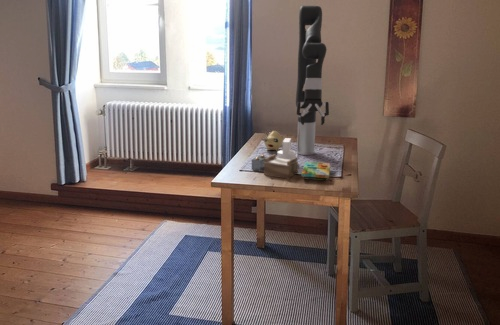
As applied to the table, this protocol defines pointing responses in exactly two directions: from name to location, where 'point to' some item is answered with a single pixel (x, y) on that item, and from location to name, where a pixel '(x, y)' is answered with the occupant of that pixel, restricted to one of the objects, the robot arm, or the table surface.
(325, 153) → the table surface
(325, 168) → the puzzle game
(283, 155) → the cylinder with rectangular tab
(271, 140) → the tan toy hamster
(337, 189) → the table surface
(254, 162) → the block
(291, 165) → the stand
